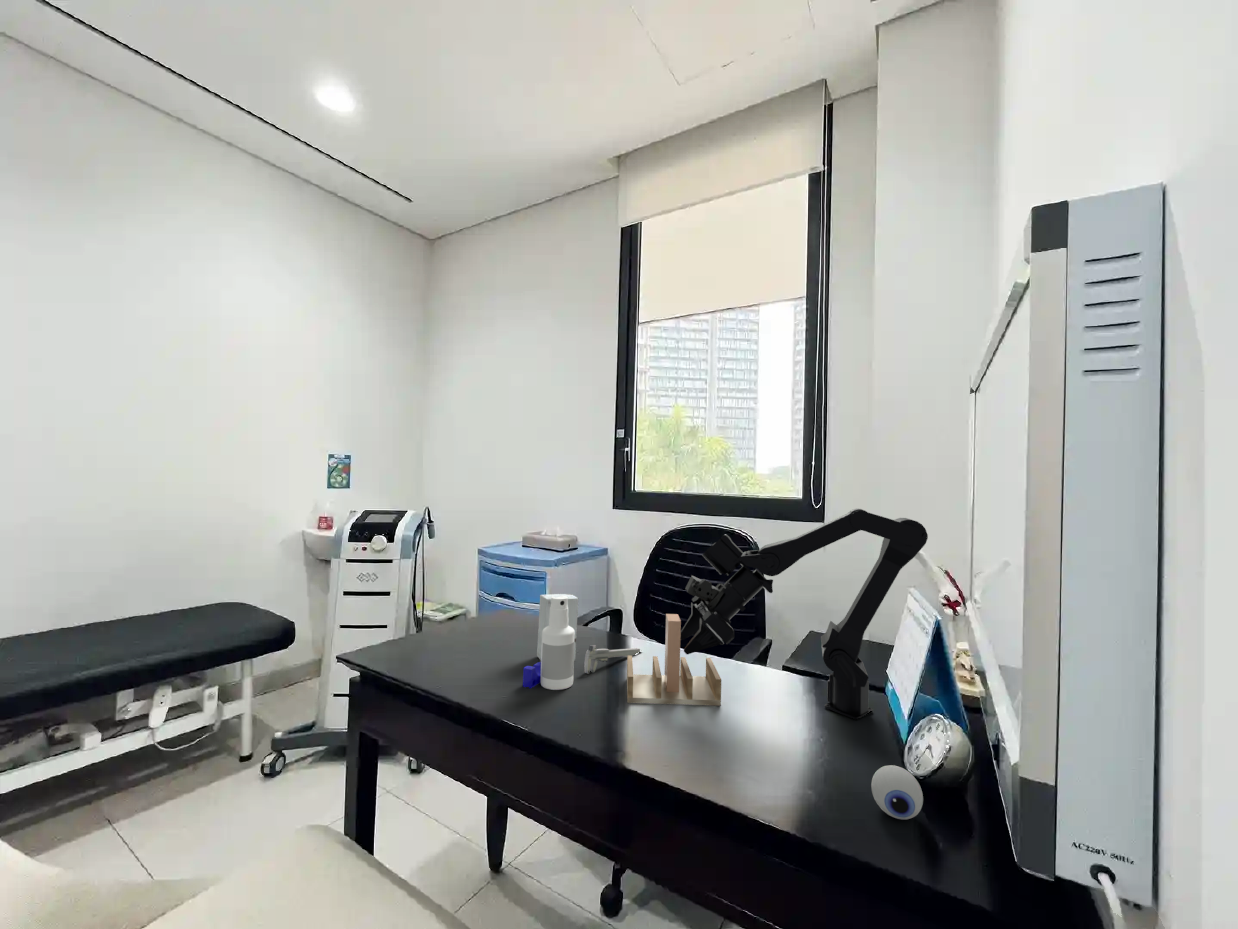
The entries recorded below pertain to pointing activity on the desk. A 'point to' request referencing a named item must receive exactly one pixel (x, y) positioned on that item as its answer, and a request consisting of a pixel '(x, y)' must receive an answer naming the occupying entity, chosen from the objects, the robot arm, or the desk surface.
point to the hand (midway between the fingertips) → (682, 645)
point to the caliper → (604, 656)
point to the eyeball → (897, 792)
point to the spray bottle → (557, 648)
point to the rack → (690, 687)
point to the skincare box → (545, 615)
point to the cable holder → (532, 675)
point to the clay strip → (672, 652)
